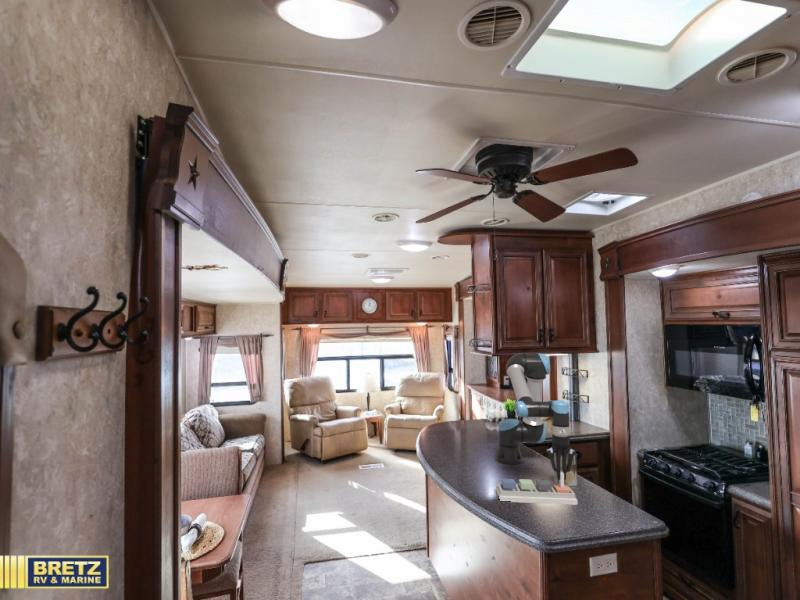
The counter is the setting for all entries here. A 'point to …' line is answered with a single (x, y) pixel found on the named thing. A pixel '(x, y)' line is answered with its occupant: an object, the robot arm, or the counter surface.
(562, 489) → the key coral
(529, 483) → the key sage
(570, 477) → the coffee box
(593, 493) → the counter surface
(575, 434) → the counter surface
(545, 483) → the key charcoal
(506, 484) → the key slate blue
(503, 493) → the keypad board
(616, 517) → the counter surface
